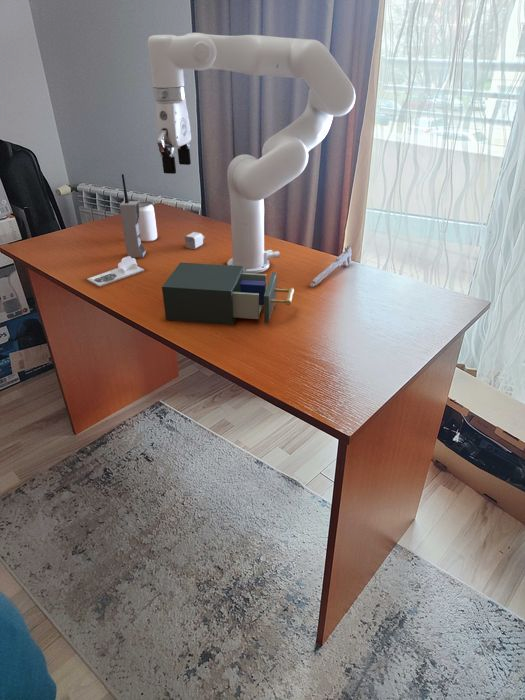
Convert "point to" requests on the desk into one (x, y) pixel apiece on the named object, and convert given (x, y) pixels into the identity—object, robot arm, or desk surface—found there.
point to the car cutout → (117, 272)
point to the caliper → (334, 265)
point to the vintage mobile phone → (131, 226)
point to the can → (147, 221)
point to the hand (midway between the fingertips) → (177, 168)
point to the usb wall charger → (194, 240)
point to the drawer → (257, 298)
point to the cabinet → (201, 293)
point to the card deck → (254, 288)
